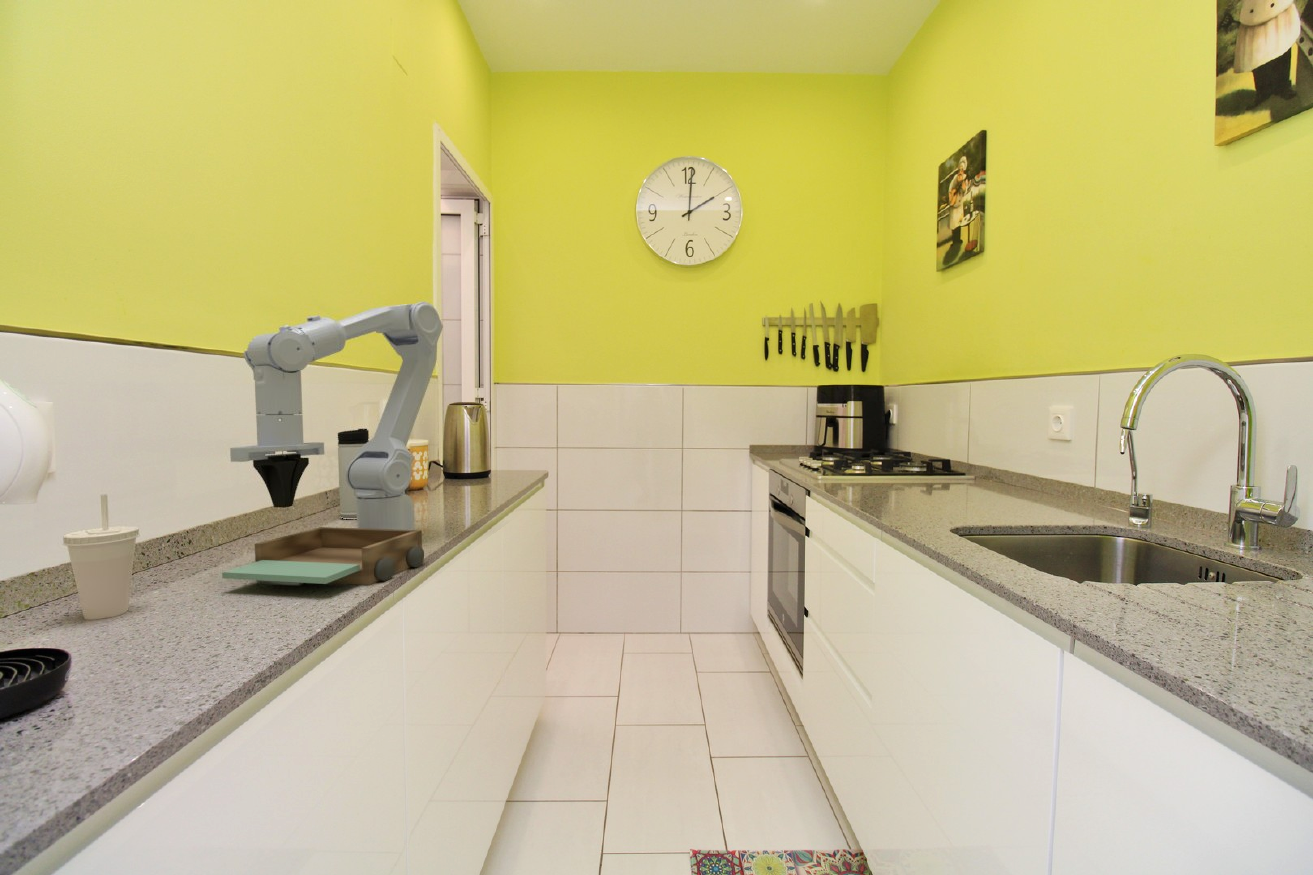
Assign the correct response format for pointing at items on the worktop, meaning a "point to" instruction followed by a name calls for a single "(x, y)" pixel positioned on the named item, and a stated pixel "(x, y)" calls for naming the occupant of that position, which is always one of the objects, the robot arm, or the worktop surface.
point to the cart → (350, 551)
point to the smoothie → (103, 566)
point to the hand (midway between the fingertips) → (283, 506)
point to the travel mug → (346, 453)
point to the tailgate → (291, 572)
